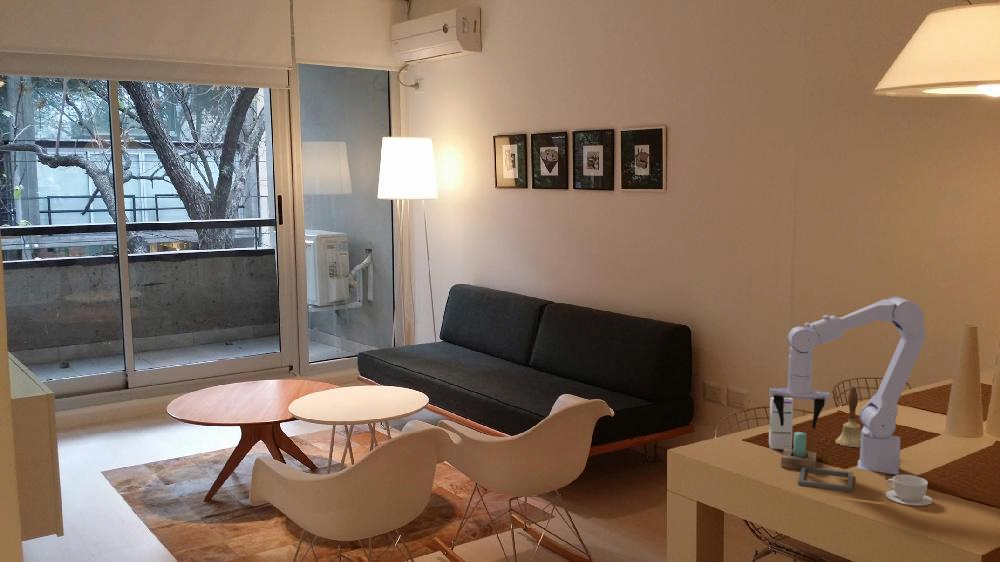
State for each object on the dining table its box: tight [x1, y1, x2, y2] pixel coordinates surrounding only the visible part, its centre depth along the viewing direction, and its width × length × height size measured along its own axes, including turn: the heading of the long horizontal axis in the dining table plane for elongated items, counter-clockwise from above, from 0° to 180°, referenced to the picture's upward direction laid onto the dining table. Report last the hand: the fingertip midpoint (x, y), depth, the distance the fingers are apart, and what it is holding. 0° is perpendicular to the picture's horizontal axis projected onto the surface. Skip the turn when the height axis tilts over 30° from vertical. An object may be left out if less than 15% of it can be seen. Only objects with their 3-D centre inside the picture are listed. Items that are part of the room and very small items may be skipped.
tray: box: [797, 466, 854, 493], centre depth 216 cm, size 12×12×1 cm
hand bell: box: [834, 386, 862, 449], centre depth 246 cm, size 8×8×16 cm
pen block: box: [780, 448, 818, 470], centre depth 228 cm, size 8×8×3 cm
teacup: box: [885, 474, 934, 507], centre depth 205 cm, size 10×10×5 cm
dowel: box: [792, 431, 807, 458], centre depth 227 cm, size 3×3×8 cm
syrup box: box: [768, 397, 794, 450], centre depth 242 cm, size 6×6×14 cm
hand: (797, 426), depth 227 cm, fingers open, 7 cm apart
